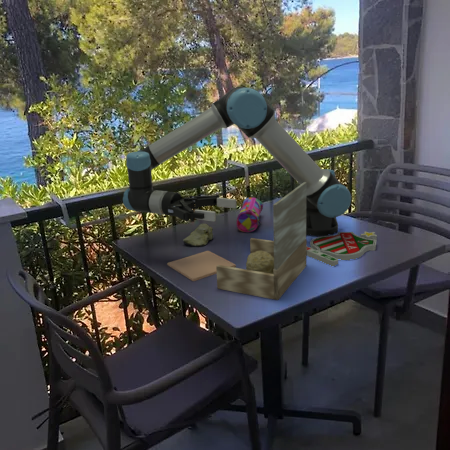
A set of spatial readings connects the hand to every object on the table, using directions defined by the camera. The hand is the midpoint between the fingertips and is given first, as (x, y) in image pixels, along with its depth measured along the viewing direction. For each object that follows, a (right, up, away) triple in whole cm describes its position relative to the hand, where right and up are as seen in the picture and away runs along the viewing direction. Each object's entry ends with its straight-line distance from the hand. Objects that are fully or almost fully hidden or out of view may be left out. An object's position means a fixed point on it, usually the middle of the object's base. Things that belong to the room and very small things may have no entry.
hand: (226, 210), depth 141 cm
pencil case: (+10, -4, +48) cm, 50 cm away
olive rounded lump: (+11, -20, +2) cm, 23 cm away
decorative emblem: (+41, -13, +21) cm, 48 cm away
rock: (-10, -11, +32) cm, 35 cm away
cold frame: (+11, -20, +2) cm, 23 cm away
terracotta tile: (-8, -18, +11) cm, 22 cm away
